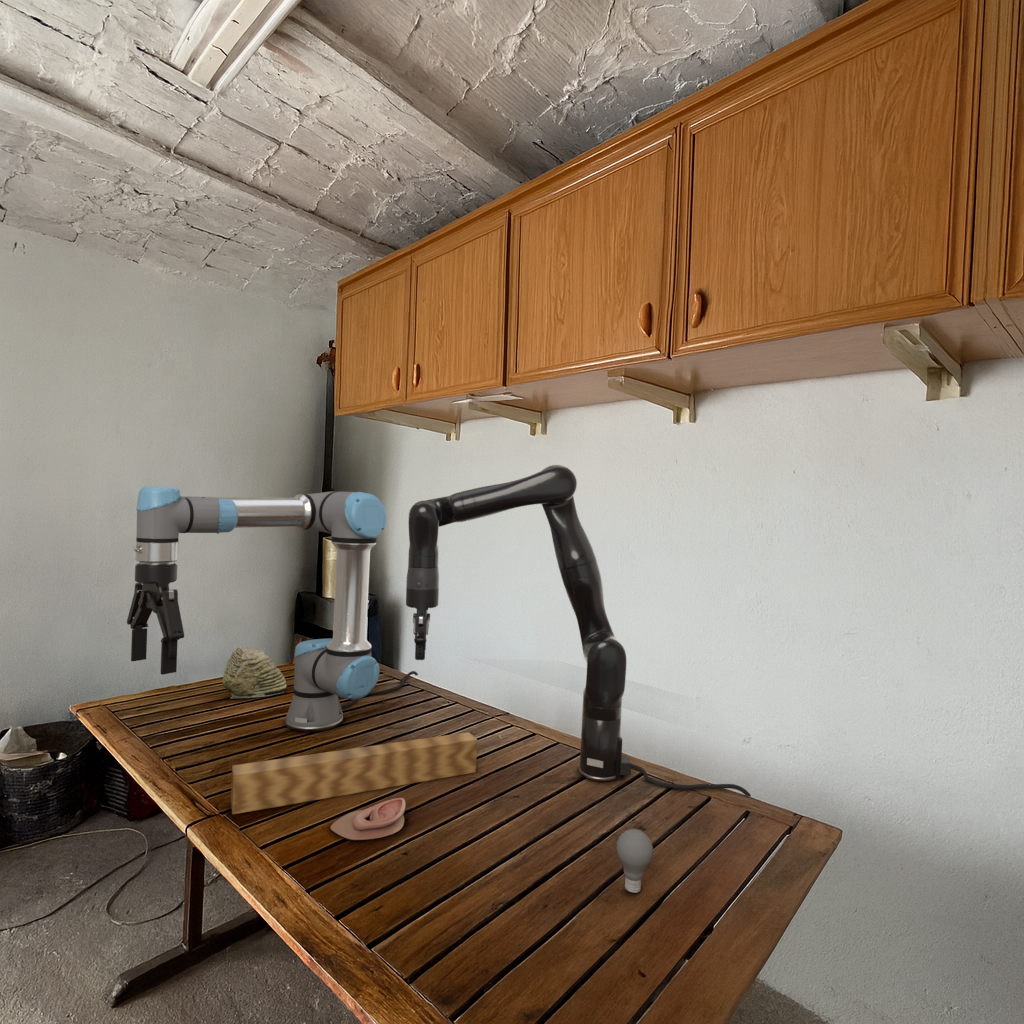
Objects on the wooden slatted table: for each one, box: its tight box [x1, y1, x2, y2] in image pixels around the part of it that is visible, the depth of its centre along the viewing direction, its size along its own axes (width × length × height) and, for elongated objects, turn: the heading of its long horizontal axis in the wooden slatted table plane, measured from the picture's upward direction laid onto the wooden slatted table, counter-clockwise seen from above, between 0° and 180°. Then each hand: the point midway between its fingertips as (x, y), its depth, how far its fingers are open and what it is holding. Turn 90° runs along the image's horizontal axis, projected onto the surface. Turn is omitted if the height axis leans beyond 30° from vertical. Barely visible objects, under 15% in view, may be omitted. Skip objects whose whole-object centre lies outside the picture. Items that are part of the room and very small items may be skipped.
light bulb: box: [615, 828, 654, 894], centre depth 106 cm, size 6×6×10 cm
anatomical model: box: [330, 797, 407, 841], centre depth 123 cm, size 13×4×12 cm
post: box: [230, 731, 478, 815], centre depth 139 cm, size 53×5×8 cm, turn 117°
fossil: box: [222, 646, 288, 699], centre depth 198 cm, size 9×18×15 cm, turn 132°
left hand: (153, 666), depth 129 cm, fingers open, 13 cm apart
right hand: (420, 655), depth 148 cm, fingers open, 8 cm apart
